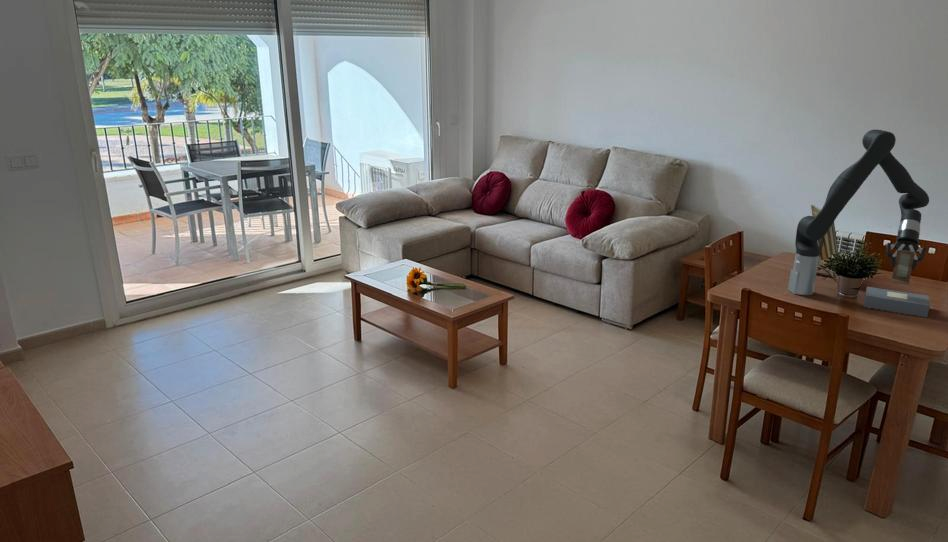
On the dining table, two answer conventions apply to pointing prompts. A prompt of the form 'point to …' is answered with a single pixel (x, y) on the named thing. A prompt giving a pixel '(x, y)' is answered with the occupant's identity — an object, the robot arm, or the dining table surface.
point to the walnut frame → (903, 267)
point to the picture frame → (826, 243)
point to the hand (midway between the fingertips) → (903, 268)
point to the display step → (897, 301)
